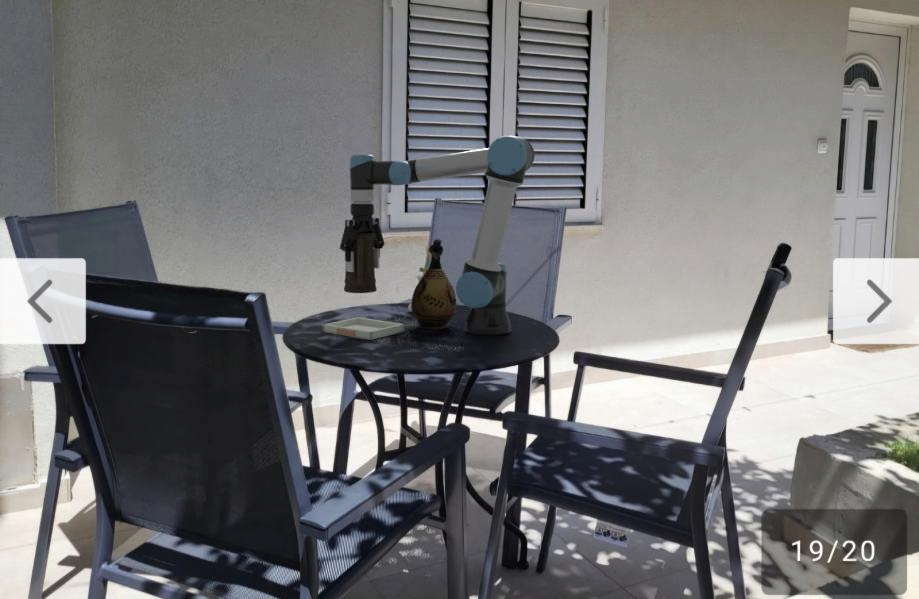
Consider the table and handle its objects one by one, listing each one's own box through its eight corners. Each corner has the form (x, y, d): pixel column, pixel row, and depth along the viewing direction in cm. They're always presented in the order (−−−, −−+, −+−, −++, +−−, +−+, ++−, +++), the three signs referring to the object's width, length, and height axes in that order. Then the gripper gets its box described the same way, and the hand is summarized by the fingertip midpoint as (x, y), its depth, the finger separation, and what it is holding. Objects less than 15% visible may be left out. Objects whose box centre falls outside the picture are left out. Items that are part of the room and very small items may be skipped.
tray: (358, 324, 294) (358, 317, 293) (404, 331, 281) (404, 324, 281) (322, 332, 280) (322, 324, 279) (369, 340, 268) (369, 332, 267)
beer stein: (341, 288, 284) (340, 229, 280) (372, 287, 287) (373, 229, 283) (348, 298, 270) (348, 236, 266) (381, 297, 273) (382, 235, 269)
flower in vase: (424, 316, 310) (424, 248, 306) (401, 312, 317) (401, 246, 313) (446, 311, 321) (447, 245, 317) (423, 308, 327) (423, 243, 323)
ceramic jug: (456, 331, 282) (456, 241, 277) (410, 331, 281) (409, 241, 277) (456, 322, 298) (456, 237, 294) (412, 322, 298) (412, 237, 293)
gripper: (378, 201, 286) (378, 265, 289) (327, 203, 267) (328, 272, 270) (395, 202, 281) (395, 267, 285) (344, 204, 262) (345, 274, 266)
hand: (363, 269), depth 277 cm, fingers closed on beer stein, 11 cm apart
